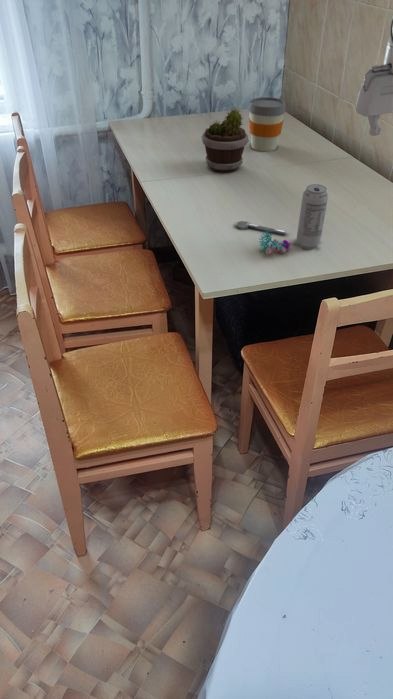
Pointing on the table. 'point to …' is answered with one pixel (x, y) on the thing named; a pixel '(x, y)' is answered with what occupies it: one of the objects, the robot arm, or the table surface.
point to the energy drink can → (312, 216)
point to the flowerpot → (225, 143)
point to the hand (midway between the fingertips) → (390, 131)
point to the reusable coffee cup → (265, 122)
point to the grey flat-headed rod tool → (258, 227)
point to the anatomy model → (268, 249)
